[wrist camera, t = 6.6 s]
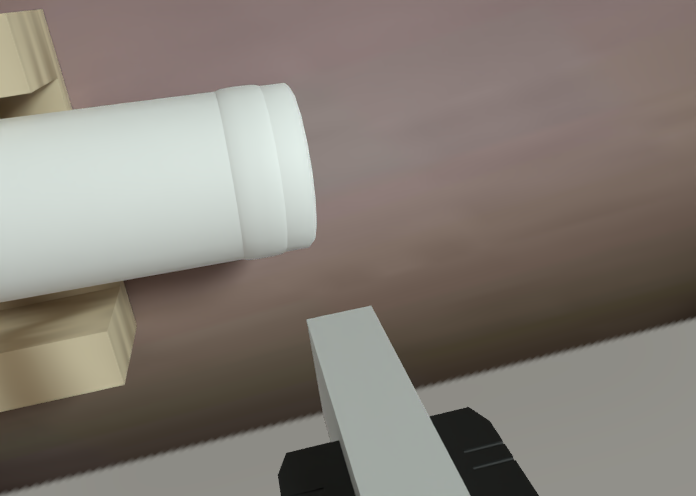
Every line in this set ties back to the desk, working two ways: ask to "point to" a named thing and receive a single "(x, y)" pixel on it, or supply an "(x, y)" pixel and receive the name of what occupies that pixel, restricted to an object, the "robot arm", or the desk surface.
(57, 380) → the bottle rest
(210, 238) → the bottle
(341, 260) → the desk surface
